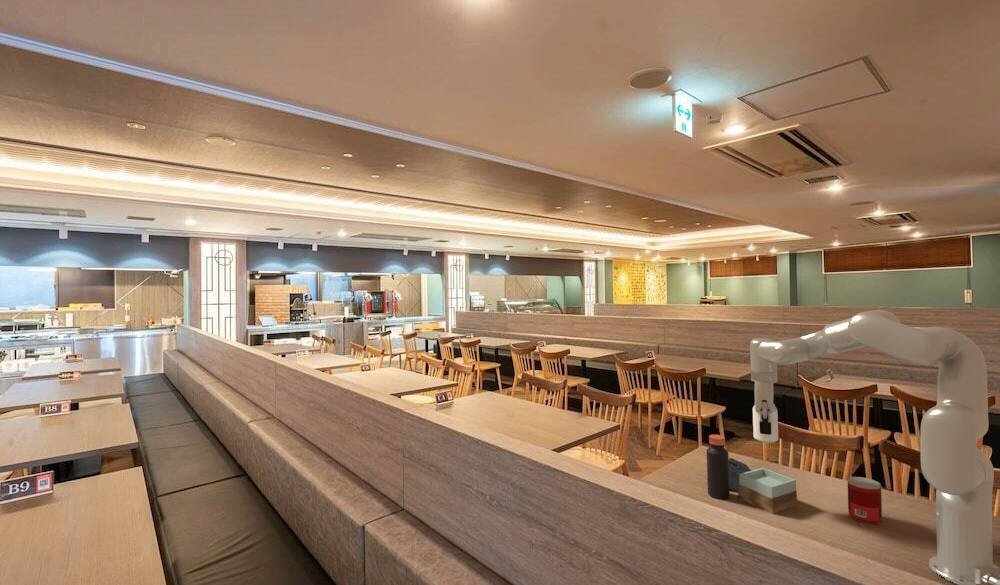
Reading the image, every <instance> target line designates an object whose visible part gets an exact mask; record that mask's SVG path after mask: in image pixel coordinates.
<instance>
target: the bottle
mask: <svg viewBox="0 0 1000 585" xmlns="http://www.w3.org/2000/svg"><path fill="white" fill-rule="evenodd" d="M708 441H709V442H708V443H709V447H708V448H706V472H707V474H706V475H707V478H706V480H708V481H707V493H708V495H709V496H710V497H711V498H714V499H719V500H727V499H728V498H730V496H731V495H730V491H731V490H729V458H730V457H729V452H728V450H727V449H726V448H725V446H726V437H725V436H723V435H721V434H710V435H709V436H708Z"/></svg>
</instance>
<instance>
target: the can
mask: <svg viewBox="0 0 1000 585" xmlns="http://www.w3.org/2000/svg"><path fill="white" fill-rule="evenodd" d="M761 411H762V412H763V409H761ZM767 412H769V411H768V410H767ZM778 412H779V411H778V408H777V407H776V404H775V403H773V409H772V413H771V414H770V422H771V435H768V434H761V433H760V422H759V421H760V411H759V412H758V411H757V412H755V404H754V405H753V407H752V423H753V424H752V426H753V433H752V434H753V438H754V439H755V440H757V441H758V442H761V443H764V444H774V443H776V442H777V441H779V425H778V424H779V422H778V421H779V415H778ZM762 415H763V414H762ZM767 415H768V414H767Z"/></svg>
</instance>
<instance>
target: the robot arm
mask: <svg viewBox="0 0 1000 585" xmlns="http://www.w3.org/2000/svg"><path fill="white" fill-rule="evenodd" d="M864 347H869V348H871V349H873V350H876V351H878V352H881V353H883V354H886V355H889V356H891V357H893V358H896V359H899V360H902V361H904V362H906V363H910V364H914V365H918V366H929V365H932V364H935V363H937V365H938V375H937V382H936V383H937V384H936V385H937V402H936V405H935V406H933V407H931V408H929V409H927V411H926V412H925V413H924V414H923V416H922V419H921V421H920V469H921V473H922V475H923V477H924V479H925V480H926V482H927V483H928V484H929V485H931V487H933V488H934V489H935V518H936V520H935V521H936V526H935V527H936V555H935V556H931V557H930V558H929V560H928V565H929V568H930V570H932V571H933V572H934V573H935V574H936V573H937V574H938V576H939V575H941V576H942V577H944V578H945V579H944V578H943V579H944V580H946V581H947V582H950V581H951V583H952V582H953V584H954V585H976V584H983V583H986V584H988V585H1000V567H999V566H998V565H995V564H994V558H993V557H994V554H993V553H994V552H993V550H994V549H993V524H992V523H993V521H992V520H993V499H992V498H993V487H994V479H995V476H994V475H995V472H994V470H995V469H994V466H993V463H992V461H991V459H990V458H989V456H988V455H987V454H986V453H985V452H984V451H982V449H980V448H978V447H977V445H978V443H977V442H978V440H980V439H982V437H984V436H985V435H986V434H987V433H988V431H989V396H988V395H989V394H988V371H987V370H988V369H987V362H986V359H985V356H984V353H983V352H982V350H981V349H980V347H979V345H977V344H976V343H975V342H974V341H973V340H972V339H971V338H970V337H968V336H967V335H965V334H963V333H961V332H959V331H957V330H954V329H951V328H947V327H944V326H943V327H942V326H930V327H929V326H928V327H924V328H916V327H913V326H910V325H907V324H903V323H901V321H900V318H899V317H898V316H897V315H895V314H894V313H893V312H891V311H889V310H885V309H875V310H866V311H861V312H859V313H855V315H853V316H851V317H849V318H846V319H843V320H839V321H836V322H833V323H829V324H827V325H825V326H824V327H823V329H820V330H818V331H815V332H813V333H809V334H806V335H803V336H800V337H796V338H789V339H784V340H776V341H775V340H774V339H772V338H762V337H759V338H752V339H751V341H750V343H749V350H750V352H749V353H750V354H749V355H750V381H751V382H754V405H755V412H757V411H758V412H759V411H760V421H759V422H760V433H761V434H768V435H771V422H770V414H771V413H772V409H773V404H774V384H775V383H778V365H780V366H789V365H792V364H797V363H803V362H806V361H810V360H814V359H817V358H820V357H821V358H822V357H825V356H828V355H834V354H841V353H845V352H849V351H853V350H857V349H861V348H864ZM761 409H763V412H762V411H761ZM767 410H768V411H769V412H767ZM762 414H763V415H762ZM767 414H768V415H767ZM937 574H936V575H937ZM941 576H940V577H941ZM942 577H941V578H942Z"/></svg>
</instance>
